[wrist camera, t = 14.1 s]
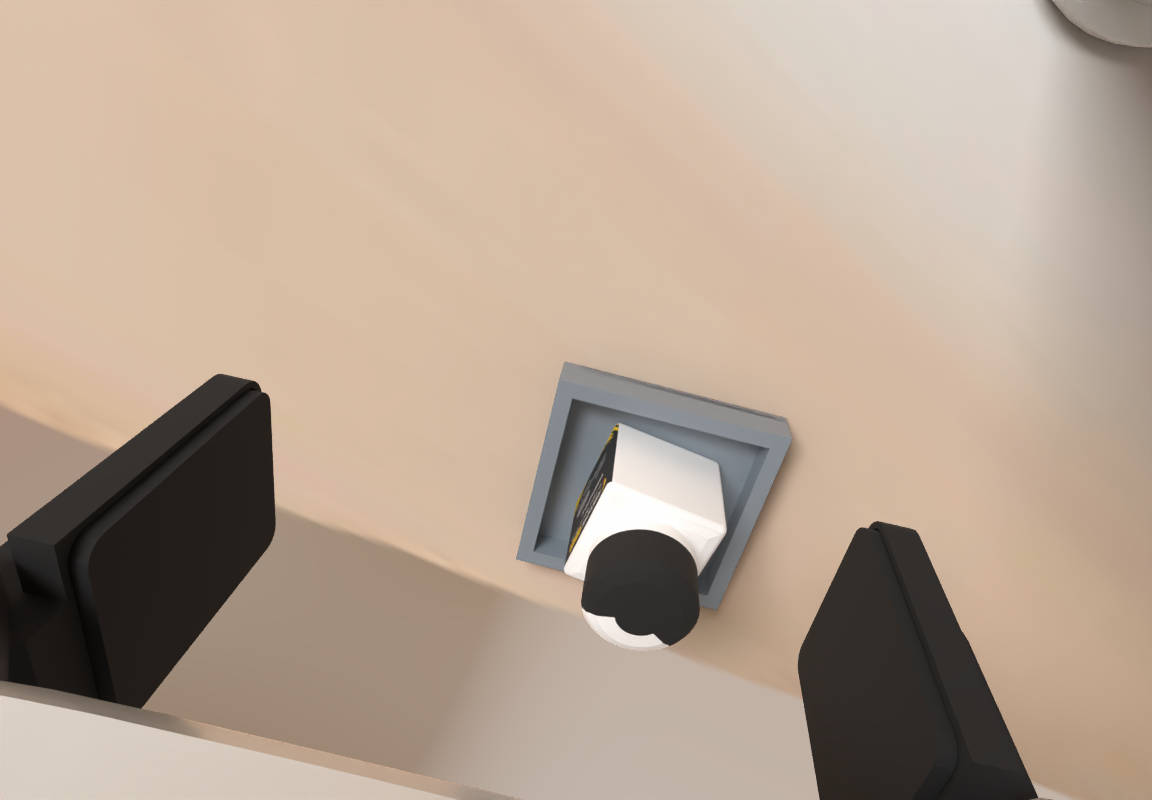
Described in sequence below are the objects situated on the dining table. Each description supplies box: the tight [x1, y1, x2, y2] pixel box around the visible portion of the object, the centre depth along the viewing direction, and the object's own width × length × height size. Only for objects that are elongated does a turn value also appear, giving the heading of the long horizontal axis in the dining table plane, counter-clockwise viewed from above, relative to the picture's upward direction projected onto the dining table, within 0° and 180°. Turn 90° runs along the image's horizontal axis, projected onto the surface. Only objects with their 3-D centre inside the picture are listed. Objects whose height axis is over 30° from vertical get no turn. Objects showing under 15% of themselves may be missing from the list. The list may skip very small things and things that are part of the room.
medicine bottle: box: [564, 423, 727, 651], centre depth 41 cm, size 7×7×12 cm
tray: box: [516, 362, 792, 610], centre depth 46 cm, size 14×14×2 cm
